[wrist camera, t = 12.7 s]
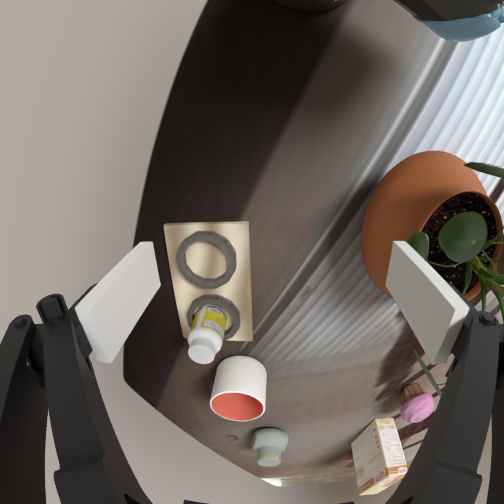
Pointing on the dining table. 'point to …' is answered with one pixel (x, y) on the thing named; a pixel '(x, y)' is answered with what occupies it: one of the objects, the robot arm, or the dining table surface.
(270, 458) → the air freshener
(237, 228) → the caddy
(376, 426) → the coffeecake box
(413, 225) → the potted plant
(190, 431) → the dining table surface
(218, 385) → the cup
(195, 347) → the supplement bottle
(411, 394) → the cupcake
